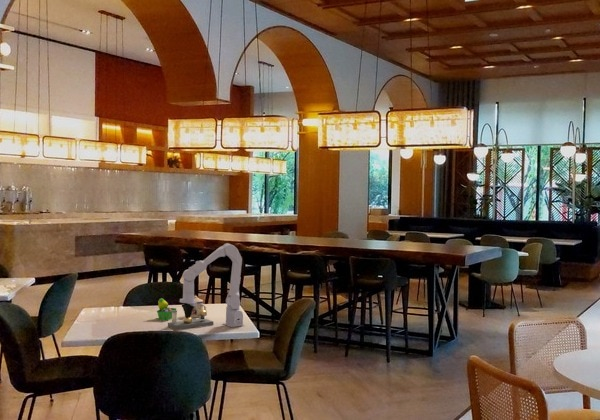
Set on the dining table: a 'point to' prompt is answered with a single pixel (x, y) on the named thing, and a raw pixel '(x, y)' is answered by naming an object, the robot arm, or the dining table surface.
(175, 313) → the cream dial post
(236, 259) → the robot arm
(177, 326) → the slate panel
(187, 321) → the brass knob
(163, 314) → the fruit basket
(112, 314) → the dining table surface
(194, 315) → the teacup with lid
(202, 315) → the brass knob
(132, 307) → the dining table surface
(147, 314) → the dining table surface
